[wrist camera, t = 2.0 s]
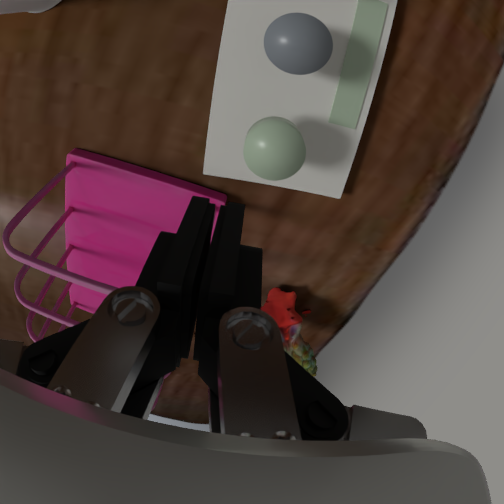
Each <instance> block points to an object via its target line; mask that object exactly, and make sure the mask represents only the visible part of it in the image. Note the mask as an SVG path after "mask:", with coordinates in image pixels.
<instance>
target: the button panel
mask: <svg viewBox="0 0 504 504" xmlns="http://www.w3.org/2000/svg"><path fill="white" fill-rule="evenodd" d="M396 5H397V0H228V5H227V11H226V16H225V22H224V27H223V33H222V39H221V44H220V50H219V57H218V63H217V69H216V76H215V83H214V89H213V96H212V104H211V111H210V119H209V126H208V135H207V143H206V151H205V160H204V170H203V174H205V175H212V176H219V177H226V178H232V179H238V180H244V181H250V182H256V183H262V184H268V185H273V186H279V187H284V188H289V189H295V190H300V191H305V192H310V193H315V194H320V195H325V196H329V197H334V198H339V199H340V198H341V195H342V192H343V189H344V186H345V184H346V181H347V178H348V175H349V172H350V169H351V166H352V163H353V160H354V157H355V154H356V151H357V147H358V144H359V141H360V138H361V135H362V132H363V128H364V125H365V122H366V119H367V115H368V112H369V109H370V105H371V102H372V98H373V95H374V91H375V88H376V84H377V81H378V77H379V74H380V70H381V66H382V62H383V59H384V55H385V51H386V47H387V43H388V39H389V35H390V31H391V27H392V22H393V18H394V14H395V9H396ZM288 13H305V14H309V15H311V16H314V17H315V18H317V19H319V20H320V21H321V22H322V23H323V24H324V25H325V26H326V27H327V28H328V30H329V32H330V34H331V36H332V40H333V50H332V54H331V57H330V59H329V60H328V62H327V63H326V64H325V65H324V66H323V67H322V68H321V69H319V70H318V71H316V72H313V73H310V74H306V75H295V74H290V73H287V72H284V71H282V70H280V69H279V68H277V67H276V66H275V65H274V64H273V63H272V62H271V61H270V60H269V58H268V57H267V55H266V52H265V49H264V36H265V32H266V30H267V28H268V27H269V25H270V24H271V23H272V22H273V21H274V20H275V19H277V18H278V17H280V16H282V15H285V14H288ZM271 116H277V117H282V118H285V119H288V120H289V121H291V122H292V123H294V124H295V125H296V126H297V127H298V129H299V130H300V132H301V135H302V137H303V140H304V143H305V147H306V157H305V161H304V163H303V165H302V167H301V168H300V170H299V171H298V172H297V173H295V174H294V175H293V176H291V177H289V178H287V179H283V180H277V181H272V180H266V179H263V178H261V177H259V176H257V175H255V174H254V173H253V172H252V171H251V170H250V169H249V168H248V166H247V164H246V162H245V160H244V155H243V149H244V143H245V138H246V135H247V132H248V130H249V129H250V127H251V126H252V125H253V124H254V123H256V122H257V121H259V120H260V119H263V118H266V117H271Z"/></svg>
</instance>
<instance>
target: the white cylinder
mask: <svg viewBox="0 0 504 504" xmlns="http://www.w3.org/2000/svg"><path fill="white" fill-rule="evenodd" d="M60 1H61V0H0V14H6V13H15V12H30V13H40V12H44V11H46V10H49V9H50V8H52V7H54V6H55V5H57V4H58V3H59V2H60Z"/></svg>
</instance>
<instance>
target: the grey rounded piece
mask: <svg viewBox="0 0 504 504" xmlns="http://www.w3.org/2000/svg"><path fill="white" fill-rule="evenodd" d="M264 49H265V52H266V55H267V57H268V58H269V60H270V61H271V62H272V63H273V64H274V65H275V66H276V67H277V68H279V69H280V70H282V71H284V72H287V73H290V74H295V75H306V74H310V73H313V72H316V71H318V70H319V69H321V68H322V67H323V66H324V65H325V64H326V63H327V62H328V60H329V59H330V57H331V54H332V50H333V40H332V36H331V34H330V32H329V30H328V28H327V27H326V26H325V25H324V24H323V23H322V22H321V21H320V20H319V19H317V18H315V17H314V16H311V15H309V14H305V13H288V14H285V15H282V16H280V17H278V18H277V19H275V20H274V21H273V22H272V23H271V24H270V25H269V27H268V28H267V30H266V32H265V36H264Z"/></svg>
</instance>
